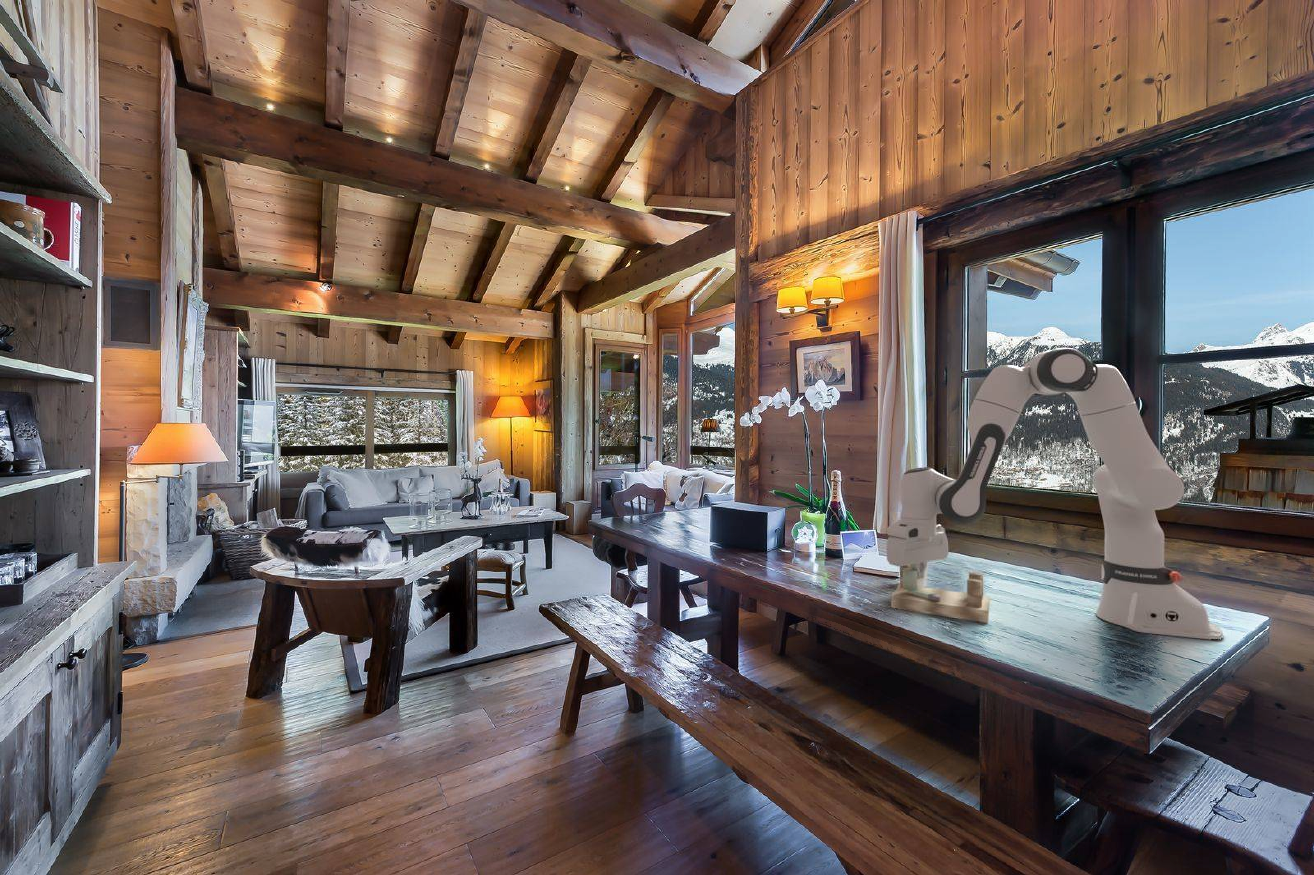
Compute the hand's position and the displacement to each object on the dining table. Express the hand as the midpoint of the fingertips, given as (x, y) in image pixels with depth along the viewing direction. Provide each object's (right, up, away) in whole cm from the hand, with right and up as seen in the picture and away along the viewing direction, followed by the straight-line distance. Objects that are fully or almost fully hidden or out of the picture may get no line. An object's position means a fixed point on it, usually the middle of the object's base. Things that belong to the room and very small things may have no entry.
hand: (918, 578), depth 150 cm
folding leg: (-1, -3, -4) cm, 6 cm away
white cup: (+6, -7, +16) cm, 19 cm away
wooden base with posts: (+4, -7, -4) cm, 9 cm away
